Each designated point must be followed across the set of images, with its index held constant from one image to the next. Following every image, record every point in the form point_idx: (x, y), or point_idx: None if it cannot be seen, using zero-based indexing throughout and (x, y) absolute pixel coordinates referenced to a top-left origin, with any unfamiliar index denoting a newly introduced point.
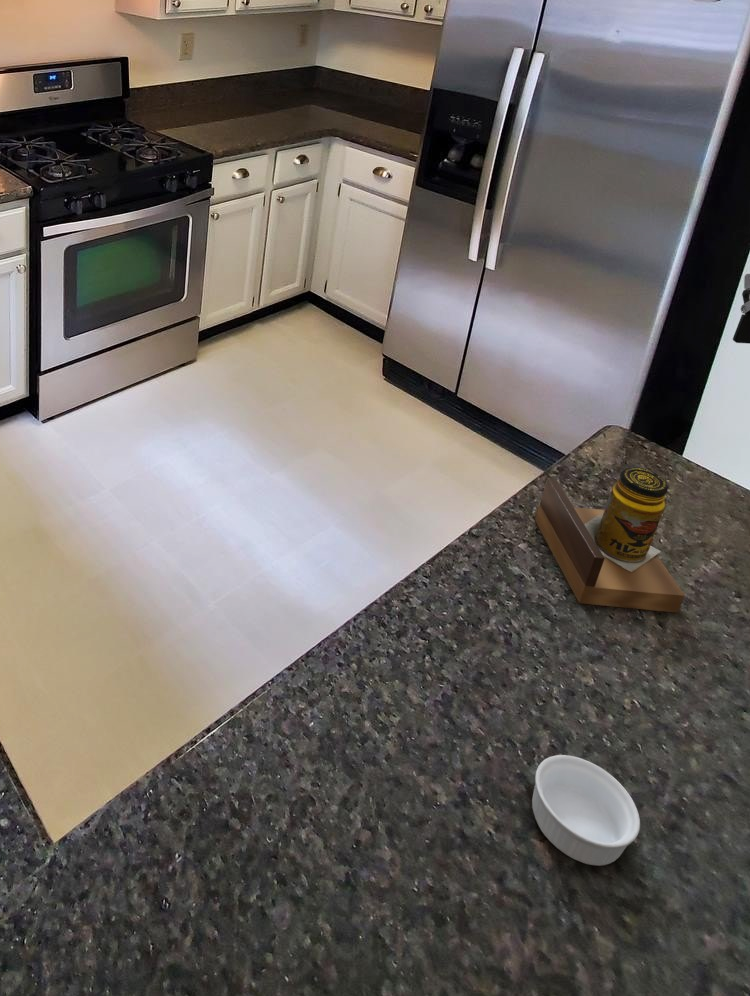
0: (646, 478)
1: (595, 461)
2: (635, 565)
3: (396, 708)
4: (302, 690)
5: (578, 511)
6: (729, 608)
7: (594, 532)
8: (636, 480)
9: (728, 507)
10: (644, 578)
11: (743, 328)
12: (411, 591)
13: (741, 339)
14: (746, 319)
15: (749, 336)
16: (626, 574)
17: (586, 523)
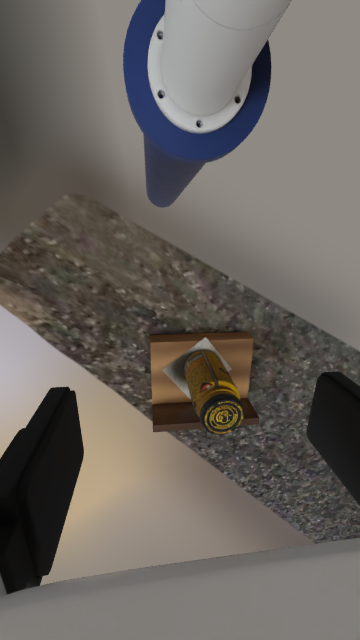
0: (221, 414)
1: (39, 319)
2: (223, 362)
3: (313, 491)
4: (301, 524)
5: (157, 382)
6: (240, 290)
7: (185, 380)
8: (225, 424)
9: (95, 211)
10: (236, 360)
11: (67, 509)
12: (235, 480)
13: (79, 456)
14: (49, 563)
15: (72, 448)
16: (232, 371)
17: (174, 382)
